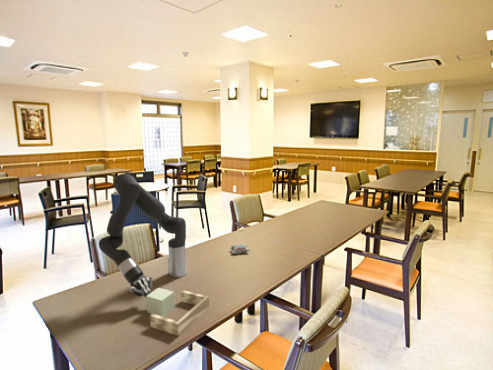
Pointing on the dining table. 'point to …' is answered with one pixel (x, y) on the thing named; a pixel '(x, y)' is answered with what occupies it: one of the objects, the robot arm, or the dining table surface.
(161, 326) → the birch corral
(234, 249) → the packaged food
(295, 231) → the dining table surface
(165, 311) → the sage block
